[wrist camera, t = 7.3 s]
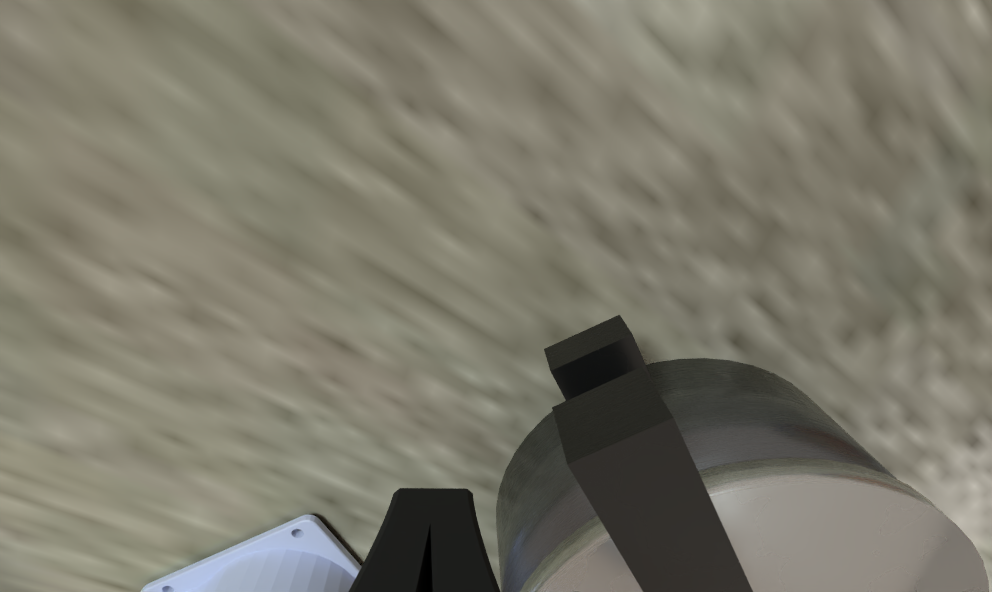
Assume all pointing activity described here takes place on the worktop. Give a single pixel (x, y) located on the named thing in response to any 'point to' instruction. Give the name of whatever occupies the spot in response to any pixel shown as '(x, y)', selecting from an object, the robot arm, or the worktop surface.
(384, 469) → the worktop surface
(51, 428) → the worktop surface
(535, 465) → the cooker pot
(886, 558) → the lid
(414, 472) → the worktop surface
